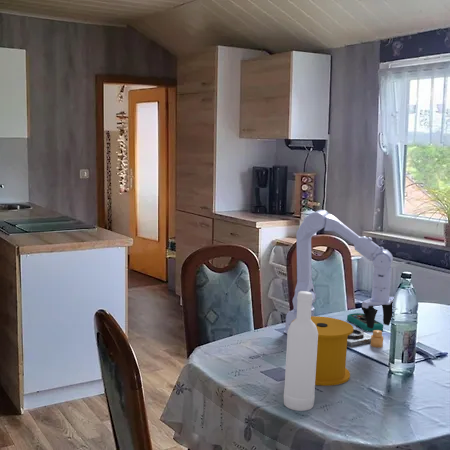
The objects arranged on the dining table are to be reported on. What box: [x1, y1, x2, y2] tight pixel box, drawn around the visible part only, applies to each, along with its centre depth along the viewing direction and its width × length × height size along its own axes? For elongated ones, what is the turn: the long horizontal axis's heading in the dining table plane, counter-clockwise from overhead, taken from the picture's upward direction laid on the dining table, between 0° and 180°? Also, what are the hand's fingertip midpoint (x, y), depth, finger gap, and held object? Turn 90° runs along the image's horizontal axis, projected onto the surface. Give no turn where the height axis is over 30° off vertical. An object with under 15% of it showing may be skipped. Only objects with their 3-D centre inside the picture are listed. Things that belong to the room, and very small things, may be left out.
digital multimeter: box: [346, 312, 384, 332], centre depth 234 cm, size 7×15×3 cm, turn 19°
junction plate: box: [347, 327, 372, 347], centre depth 217 cm, size 12×12×2 cm
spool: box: [291, 315, 354, 387], centre depth 183 cm, size 18×18×15 cm
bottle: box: [283, 291, 318, 412], centre depth 160 cm, size 8×8×30 cm
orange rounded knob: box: [370, 330, 384, 349], centre depth 210 cm, size 4×4×5 cm
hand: (378, 326), depth 210 cm, fingers open, 7 cm apart
